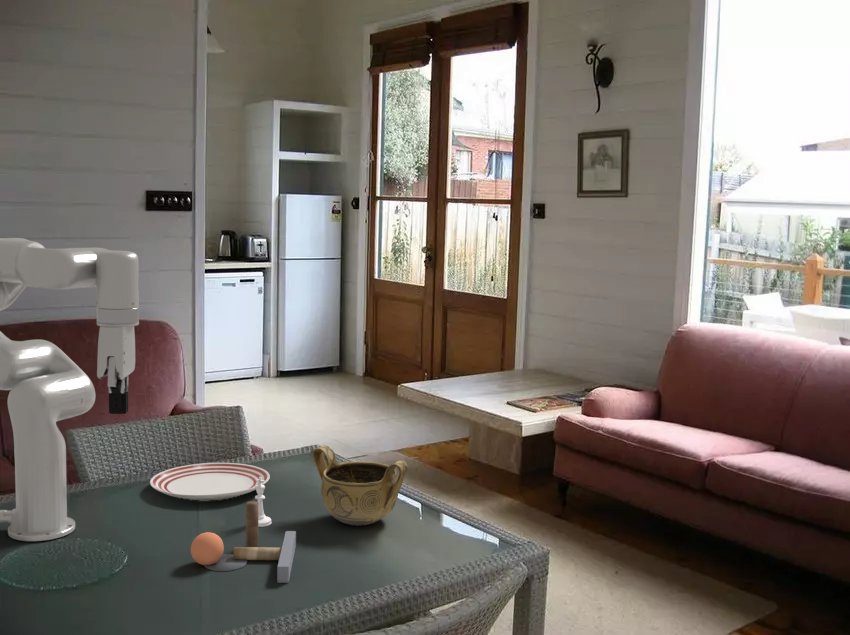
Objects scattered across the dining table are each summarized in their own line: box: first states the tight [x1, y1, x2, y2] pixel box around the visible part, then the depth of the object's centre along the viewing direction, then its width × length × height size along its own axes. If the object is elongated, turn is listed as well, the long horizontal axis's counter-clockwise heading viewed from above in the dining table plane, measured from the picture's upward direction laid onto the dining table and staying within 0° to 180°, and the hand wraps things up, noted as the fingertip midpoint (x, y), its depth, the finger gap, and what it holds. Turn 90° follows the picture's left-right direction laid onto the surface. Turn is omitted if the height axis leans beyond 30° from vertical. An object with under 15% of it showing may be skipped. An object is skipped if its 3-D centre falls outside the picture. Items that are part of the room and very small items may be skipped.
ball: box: [190, 531, 225, 566], centre depth 173 cm, size 6×6×6 cm
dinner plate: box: [149, 462, 271, 501], centre depth 218 cm, size 27×27×3 cm
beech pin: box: [232, 546, 282, 561], centre depth 177 cm, size 2×2×9 cm
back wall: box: [276, 530, 297, 584], centre depth 175 cm, size 2×18×3 cm, turn 4°
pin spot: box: [203, 553, 248, 572], centre depth 174 cm, size 8×8×1 cm
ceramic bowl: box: [312, 444, 409, 527], centre depth 199 cm, size 22×17×15 cm
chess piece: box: [254, 477, 272, 528], centre depth 196 cm, size 5×5×10 cm
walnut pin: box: [245, 500, 259, 547], centre depth 182 cm, size 2×2×9 cm
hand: (118, 412), depth 176 cm, fingers closed
